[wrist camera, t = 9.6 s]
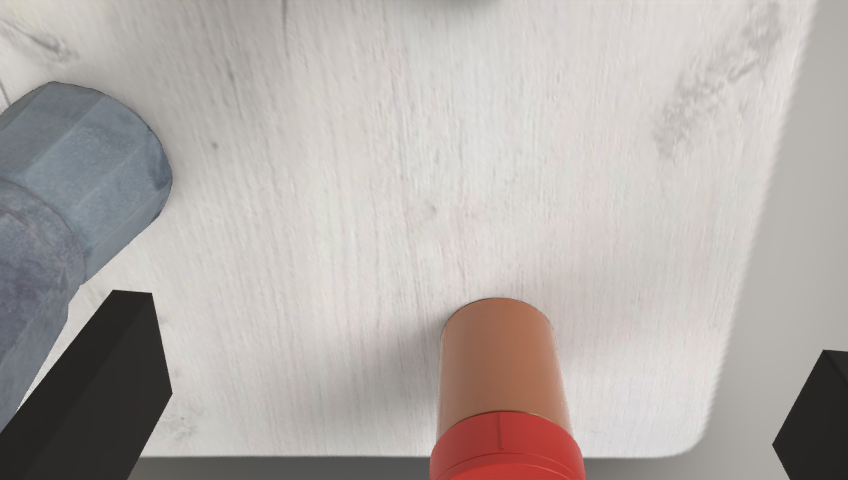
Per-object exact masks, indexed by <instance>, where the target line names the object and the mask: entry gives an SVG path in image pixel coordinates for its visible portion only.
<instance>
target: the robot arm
mask: <svg viewBox="0 0 848 480" xmlns="http://www.w3.org/2000/svg"><path fill="white" fill-rule="evenodd" d="M172 394H173V393H172V388H171V383H170V379H169V374H168V369H167V364H166V359H165V354H164V349H163V345H162V340H161V335H160V330H159V325H158V320H157V315H156V311H155V306H154V301H153V296H152V293H145V292H133V291H122V290H112V292H111V293H110V294H109V296H108V297H107V298H106V299H105V301H104V302H103V303H102V304H101V306H100V307H99V308H98V310H97V311H96V312H95V313H94V315H93V316H92V317H91V318H90V320H89V321H88V322H87V324H86V325H85V326H84V327H83V329H82V330H81V331H80V332H79V334H78V335H77V336H76V338H75V339H74V340H73V341H72V343H71V344H70V345H69V346H68V348H67V349H66V350H65V351H64V353H63V354H62V355H61V357H60V358H59V359H58V360H57V362H56V363H55V364H54V365H53V367H52V368H51V369H50V371H49V372H48V373H47V374H46V376H45V377H44V378H43V379H42V381H41V382H40V383H39V385H38V386H37V387H36V388H35V390H34V391H33V392H32V393H31V395H30V396H29V397H28V398H27V400H26V401H25V402H24V404H23V405H22V406H21V407H20V409H19V410H18V411H17V412H16V414H15V415H14V416H13V418H12V419H11V420H10V421H9V423H8V424H7V425H6V426H5V428H4V429H3V430H2V432H1V433H0V480H127V479H128V477H129V475H130V473H131V471H132V469H133V467H134V465H135V464H136V462H137V460H138V458H139V456H140V454H141V452H142V450H143V449H144V447H145V445H146V443H147V441H148V439H149V437H150V435H151V433H152V432H153V430H154V428H155V426H156V424H157V422H158V420H159V418H160V416H161V415H162V413H163V411H164V409H165V407H166V405H167V403H168V401H169V399H170V397H171V396H172ZM772 445H773V448H774V450H775V452H776V453H777V455H778V457H779V459H780V461H781V463H782V465H783V467H784V469H785V471H786V473H787V475H788V476H789V479H790V480H848V352H845V351H833V350H823V351H822V353H821V355H820V357H819V359H818V360H817V362H816V364H815V366H814V368H813V370H812V372H811V373H810V375H809V377H808V379H807V381H806V383H805V385H804V386H803V388H802V390H801V392H800V394H799V396H798V398H797V400H796V401H795V403H794V405H793V407H792V409H791V411H790V412H789V414H788V416H787V418H786V420H785V422H784V424H783V426H782V428H781V429H780V431H779V433H778V435H777V437H776V438H775V441H774V442H773V444H772Z"/></svg>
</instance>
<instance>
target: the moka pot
mask: <svg viewBox="0 0 848 480" xmlns="http://www.w3.org/2000/svg"><path fill="white" fill-rule="evenodd" d="M171 185H172V173H171V169H170V165H169V163H168V160H167V157H166V155H165V153H164V151H163V148H162V145H161V142H160V141H159V139H158V137H157V136H156V135H155V134H154V132H153V131H152V130H151V129H150V127H149V126H148V125H147V124H146V123H145V122H144V121H143V120H142V119H141V118H140V117H139V116H138V115H137V114H136V113H135V112H133V111H132V110H130V109H129V108H128V107H126V106H125V105H123V104H122V103H120V102H118V101H117V100H115V99H113V98H112V97H110V96H108V95H106V94H103V93H102V92H100V91H97V90H94V89H91V88H85V87H81V86H76V85H71V84H64V83H59V82H55V81H53V82H49V83H47V84H45V85H43V86H40V87H38V88H37V89H35V90H32V91H31V92H29V93H28V94H26V95H24V96H23V97H22V98H21V99H19V100H18V101H16V102H15V103H13V104H12V105H11V106H10V107H8V108H7V109H6V110H5V111H4V112H3V113H2V114H1V115H0V433H1V432H2V430H3V429H4V428H5V426H6V425H7V424H8V423H9V421H10V420H11V419H12V418H13V416H14V415H15V413H16V411H17V409H18V407H19V405H20V403H21V401H22V399H23V398H24V396H25V394H26V392H27V390H28V389H29V387H30V386H31V384H32V382H33V381H34V379H35V377H36V375H37V373H38V372H39V370H40V368H41V366H42V365H43V363H44V361H45V360H46V358H47V356H48V354H49V353H50V351H51V349H52V347H53V345H54V343H55V342H56V340H57V338H58V336H59V334H60V333H61V331H62V329H63V327H64V325H65V323H66V322H67V318H68V304H69V302H70V301H71V300H72V298H73V297H74V295H75V294H76V292H77V291H78V289H79V286H80V285H82V284H84V283H85V282H86V281H88V280H89V279H90V278H91V277H93V276H94V275H95V274H96V273H97V272H98V271H99V270H100V269H101V268H102V267H103V266H105V265H106V264H107V263H108V262H109V261H110V260H111V259H112V258H113V257H114V256H116V255H117V254H118V253H119V252H120V251H121V250H122V249H123V248H124V247H125V246H127V245H128V244H129V243H130V242H131V241H132V240H133V239H134V238H135V237H136V236H137V235H138V234H140V233H141V232H142V231H143V230H144V229H145V228H147V227H148V226H149V225H150V224H151V223H152V222H153V221H154V220H155V219H156V218H157V217H158V216H159V214H160V213H161V211H162V209H163V207H164V205H165V203H166V200H167V198H168V195H169V193H170V189H171Z"/></svg>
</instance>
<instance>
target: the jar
mask: <svg viewBox="0 0 848 480" xmlns="http://www.w3.org/2000/svg"><path fill="white" fill-rule="evenodd" d="M496 412H516V413H525V414H530V415H534V416H538V417H541V418H544V419H546V420H549V421H551V422H553V423H555V424H556V425H558V426H560V427H561V428H563V429H564V430H565V431H566V432H568V433H569V434H570V435H571V436H572V438H573V439H574V436H573V431H572V425H571V420H570V415H569V409H568V404H567V399H566V393H565V388H564V382H563V377H562V372H561V366H560V361H559V356H558V350H557V345H556V339H555V334H554V331H553V328H552V326H551V324H550V322H549V321H548V320H547V318H546V317H545V316H544V315H543V314H542V313H541V312H540V311H538V310H537V309H536V308H534V307H532V306H531V305H528V304H526V303H524V302H521V301H518V300H513V299H507V298H490V299H484V300H480V301H476V302H473V303H471V304H469V305H467V306H465V307H463V308H461V309H460V310H458V311H457V312H456V313H455V314H454V315H453V316H452V317H451V318H450V319H449V320H448V322H447V323H446V325H445V327H444V329H443V331H442V335H441V343H440V363H439V384H438V405H437V425H436V442H437V441H438V440H439V438H440V437H441V436H442V435H443V434H444V433H445V432H446V431H447V430H449V429H450V428H452V427H453V426H455V425H456V424H458V423H460V422H462V421H464V420H467V419H469V418H472V417H475V416H478V415H483V414H488V413H496Z"/></svg>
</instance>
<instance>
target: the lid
mask: <svg viewBox="0 0 848 480" xmlns="http://www.w3.org/2000/svg"><path fill="white" fill-rule="evenodd" d="M429 480H587V479H586V474H585V469H584V463H583V458H582V454H581V451H580V448H579V446H578V445H577V443H576V441H575V440H574V439H573V438H572V436H571V435H570V434H569V433H568V432H566V431H565V430H564V429H563V428H561V427H560V426H558V425H556V424H555V423H553V422H551V421H549V420H546V419H544V418H541V417H538V416H534V415H530V414H525V413H516V412H496V413H488V414H483V415H478V416H475V417H472V418H469V419H467V420H464V421H462V422H460V423H458V424H456V425H455V426H453V427H452V428H450V429H449V430H447V431H446V432H445V433H444V434H443V435H442V436H441V437H440V438H439V440H438V441H437V442H436V444H435V446H434V448H433V450H432V454H431V459H430V473H429Z"/></svg>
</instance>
